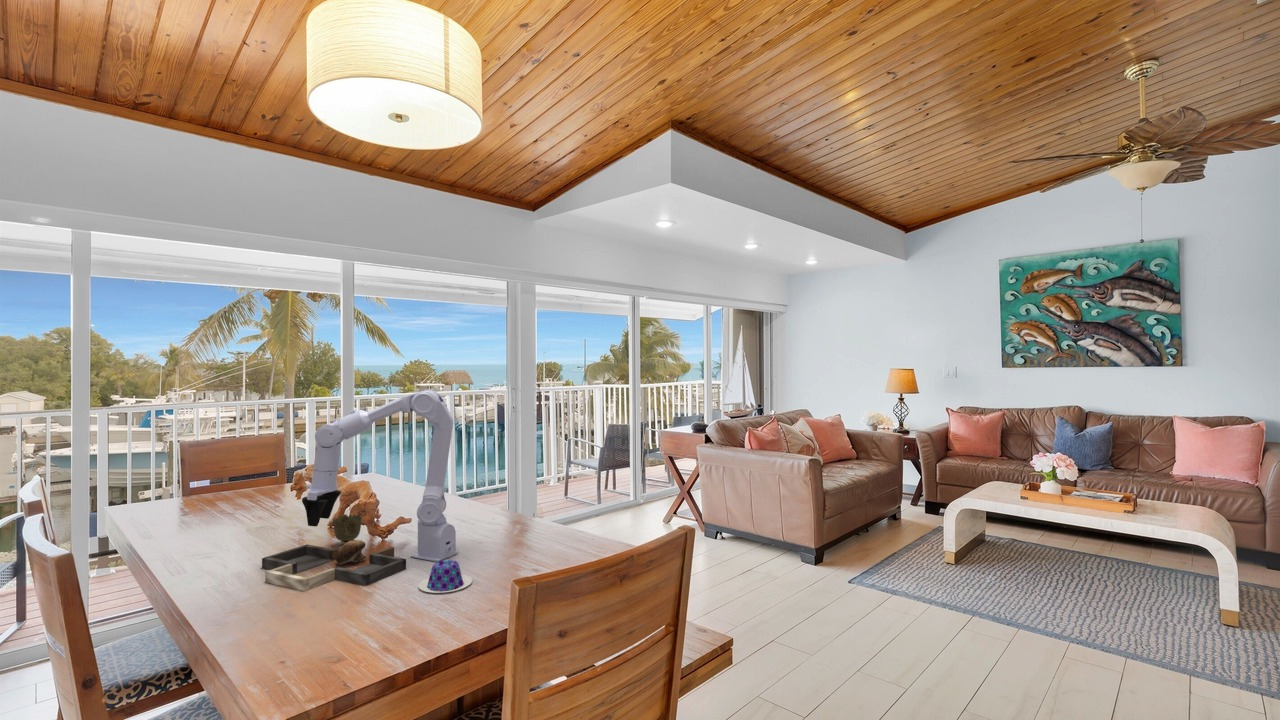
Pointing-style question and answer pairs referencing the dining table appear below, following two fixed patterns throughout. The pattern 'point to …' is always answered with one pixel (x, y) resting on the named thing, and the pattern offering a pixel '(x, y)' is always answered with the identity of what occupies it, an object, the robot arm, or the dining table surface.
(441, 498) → the robot arm
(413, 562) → the dining table surface
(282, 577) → the grey brown flat frame
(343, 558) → the mushroom
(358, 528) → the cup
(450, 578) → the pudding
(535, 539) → the dining table surface
